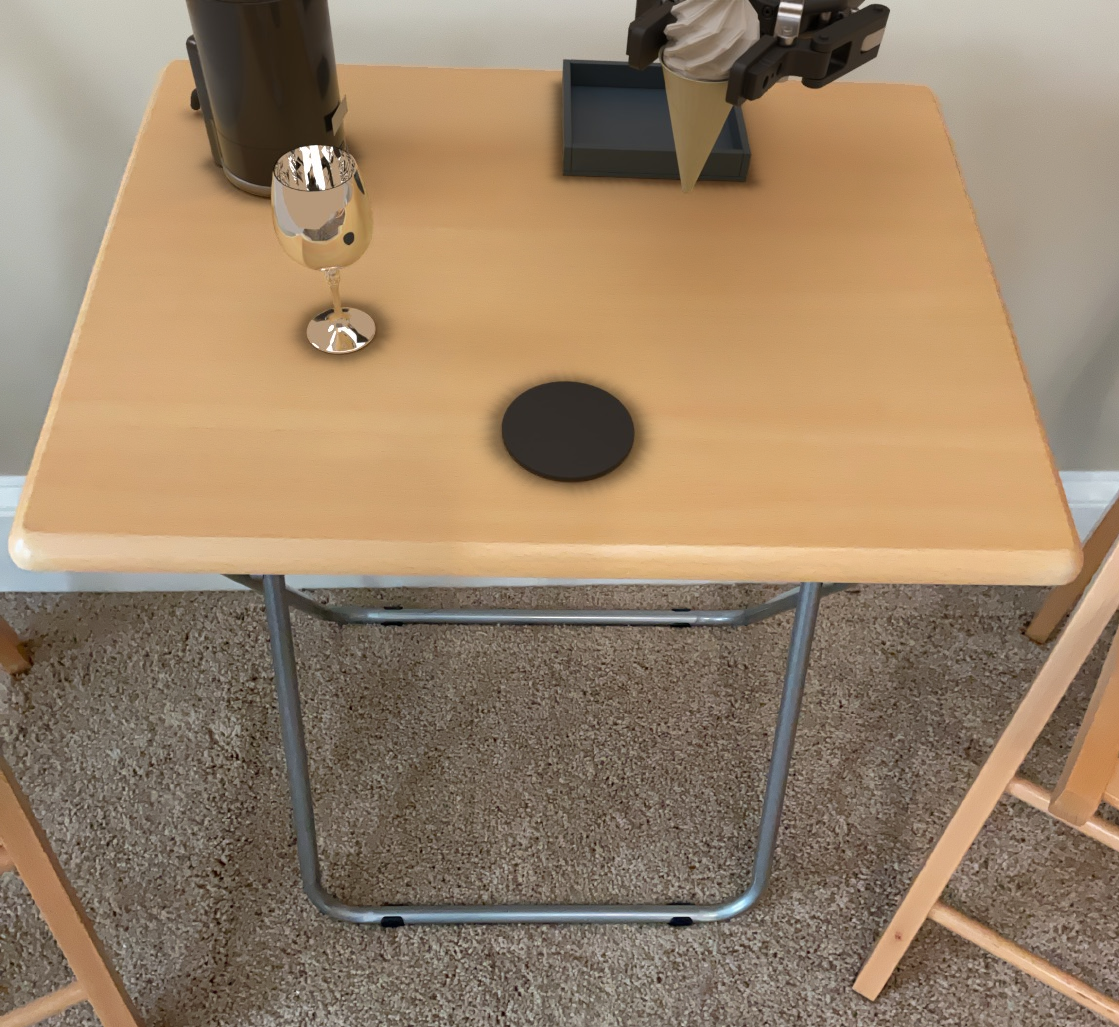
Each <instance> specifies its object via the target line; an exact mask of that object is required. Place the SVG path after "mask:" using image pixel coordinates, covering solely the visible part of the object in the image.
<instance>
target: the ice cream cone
mask: <svg viewBox="0 0 1119 1027" xmlns="http://www.w3.org/2000/svg"><path fill="white" fill-rule="evenodd" d="M671 14H672V15H673V16H674V17H675V18H676V19H677V22H676V23H673V24H669V25H667V27H666V28H665V30H664V33H665V35H666V36H667V39H668V40H669V41H668V43H667V42H666V43H667V44H665V45H663V46H662V47H661V48H660V50H659V55H658V56H659V58H658V61H659V63H661V64H662V67H663V73H664V79H665V87H666V93H667V99H668V105H669V111H670V117H671V123H672V130H673V136H674V142H675V148H676V154H677V160H678V166H679V172H680V178H681V179H680V184H681V190H682V193H683V194H685V195H689V194H691V193H692V191H693V189H694V187H695V185H696V183H697V181H698V180H697V179H698V177H699V175H700V173H701V171H702V169H703V166H704V164H705V162H706V160H707V158H708V156H709V154H710V152H711V150H712V148H713V146H714V144H715V142H716V140H717V138H718V136H719V134H720V132H721V129H722V127H723V125H724V123H725V121H726V119H727V117H728V115H729V112H730V110H731V108H732V106H733V105H732V104H729V103H726V101H725V98H726V92H727V86H728V81H729V75H730V71H731V68H732V65H733V63H734V62H735V61H736V60H737V59H738V58H739V57H740V56H741V55H742V54H743V53H745V52H746V51H747V50H748V49H749V48H750V47H751V46H752V45H754V44H755V43H756V42H757V41H758V40H759V39H760V28H759V20H758V14H757V13H756V11H755V10H754V8H753V7H752V5H751V4H750V2H749V1H748V0H686V1H684V2H681V3H679V4H677V5H675V6H673V7H672V9H671Z"/></svg>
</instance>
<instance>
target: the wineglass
mask: <svg viewBox="0 0 1119 1027" xmlns="http://www.w3.org/2000/svg"><path fill="white" fill-rule="evenodd" d="M371 203H372V202H371V199H370V194H369V191H368V189H367V186H366V183H365V181H364V178H363V175H362V173H361V171H360V168H359V165H358V163H357V161H356V159H355V157H354V156H353V155H352V154H350V152H349V151H348V152H347V151H345V150H342V149H340V148H337V147H333V146H328V145H308V146H302V147H298V148H295V149H292V150H290V151H288V152H286V153H285V154H283V155H282V156H281V157H279V158H278V160H277V161H276V162H275V164H274V167H273V174H272V186H271V197H270V204H271V205H270V208H271V220H272V224H273V230H274V233H275V236H276V239H277V241H278V243H279V246H280V247H281V248H282V250H283V252H284V254H286V255H287V256H288V257H289V258H290V259H291V260H292V261H293V262H295V263H296V264H297V265H299V266H302V267H303V268H306V269H308V270H312V271H317V272H323V278H324V280H325V283H327V285H328V288H329V290H330V293H331V297H332V304H333V307H332V308H329V309H326V310H323V311H322V312H319V313H317V314H316V315H315V316H313V318H312V319H311V320H310V321H309V322H308V324H307V327H306V330H305V332H306V338H307V340H308V342H309V343H310V344H311V345H312V346H313V347H314V348H316V349H317V350H319V351H321V352H324V353H328V354H332V355H333V354H335V355H342V354H343V355H344V354H349V353H353V352H356V351H359V350H361V349H363V348H365V347H366V346H367V345H368V344H369V343H370V342H371V341H372V340H373V339H374V338H375V336H376V330H377V328H376V323H375V321H374V319H373V318H372V316H371V315H369V314H368V313H367V312H365V311H364V310H361V309H359V308H355V307H348V306H342V303H341V297H340V282H341V275H342V274H341V270H343V269H345V268H347V267H349V266H351V265H353V264H355V263H356V262H357V261H359V260H360V259H361V258H362V257H363V256H364V255H365V253H366V252H367V250H368V248H369V246H370V244H371V242H372V239H373V234H374V213H373V207H372V204H371Z"/></svg>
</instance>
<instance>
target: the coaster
mask: <svg viewBox="0 0 1119 1027" xmlns="http://www.w3.org/2000/svg"><path fill="white" fill-rule="evenodd" d="M501 437H502V441H503V444H504V447H505V450H506V451H507V452H508V454H509V455H510V457H511V458H512V460H514V461H515V462H516V463H517V464H518V465H519V466H520V467H522V468H523V469H525V470H526V471H528V472H530V473H532V474H534V475H536V476H539V477H541V478H543V479H548V480H553V481H557V482H558V481H559V482H567V483H569V482H583V481H584V482H585V481H589V480H595V479H597V478H599V477H602V476H605V475H606V474H609V473H611V472H612V471H613V470H615V469H617V468H618V467H619V466H620V465H621V464H622V463H624V461H625V460H626V458H627V457H628V456H629V454H630V452H631V450H632V447H633V444H634V440H635V424H634V421H633V418H632V416H631V414H630V412H629V410H628V409H627V408H626V406H625V405H624V403H622V402H621V400H619V399H618V398H617V397H616V396H614V395H613V394H611V393H610V392H608V391H607V390H604V389H603V388H601V387H598V386H596V385H593V384H590V383H589V384H588V383H585V382H579V381H570V380H562V381H561V380H559V381H558V380H557V381H551V382H545V383H541V384H539V385H536V386H533V387H531V388H529V389H527V390H525V391H524V392H522V393H521V394H519V395H518V396H517V397H515V399H514V400H513V401H511V403H510V404H509V405H508V406H507V409H506V411H505V412H504V415H503V418H502V422H501Z"/></svg>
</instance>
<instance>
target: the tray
mask: <svg viewBox="0 0 1119 1027" xmlns="http://www.w3.org/2000/svg"><path fill="white" fill-rule="evenodd" d="M561 71H562V72H561V74H562V75H561V139H562V141H561V142H562V144H561V146H562V176H573V177H575V176H576V177H603V178H605V177H606V178H631V179H632V178H633V179H634V178H636V179H660V180H661V179H662V180H681V178H680V172H679V166H678V160H677V154H676V148H675V142H674V136H673V130H672V123H671V117H670V111H669V105H668V99H667V93H666V87H665V79H664V73H663V67H662V64H661V63H660V62H653V63H651V64H650V65H649V66H648V67H646V68H645V69H644V70H643V71H641V70H638V69H635V68H633V67H630V66H629V65H628V61H626V60H625V61H624V60H623V61H622V60H621V61H620V60H600V59H599V60H598V59H597V60H596V59H574V58H572V59H569V58H568V59H567V58H563V59H562V70H561ZM748 136H749V135H748V131H747V126H746V122H745V118H744V113H743V107H742V105H741V106H740V107H737V106H734V105H733V106H732V108H731V110H730V112H729V115H728V117H727V119H726V121H725V123H724V125H723V127H722V129H721V132H720V134H719V136H718V138H717V140H716V142H715V144H714V146H713V148H712V150H711V152H710V154H709V156H708V158H707V160H706V162H705V164H704V166H703V169H702V171H701V173H700V175H699V177H698V179H697V181H719V182H743V183H744V182H747V177H748V174H749V173H748V172H749V168H750V164H751V160H752V150H751V145H750V140H749V137H748Z"/></svg>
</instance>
